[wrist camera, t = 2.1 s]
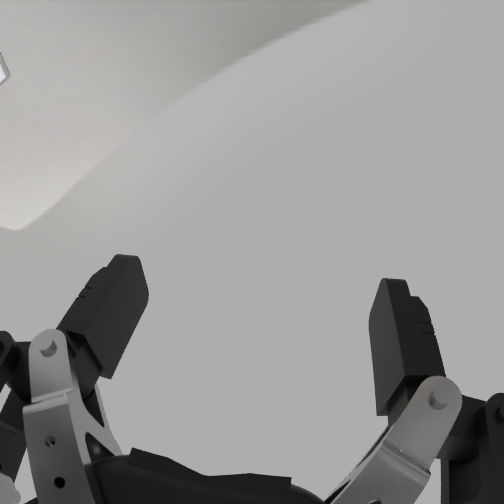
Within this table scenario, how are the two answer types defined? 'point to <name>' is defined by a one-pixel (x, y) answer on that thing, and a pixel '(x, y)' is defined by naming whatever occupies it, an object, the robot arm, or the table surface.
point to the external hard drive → (3, 71)
